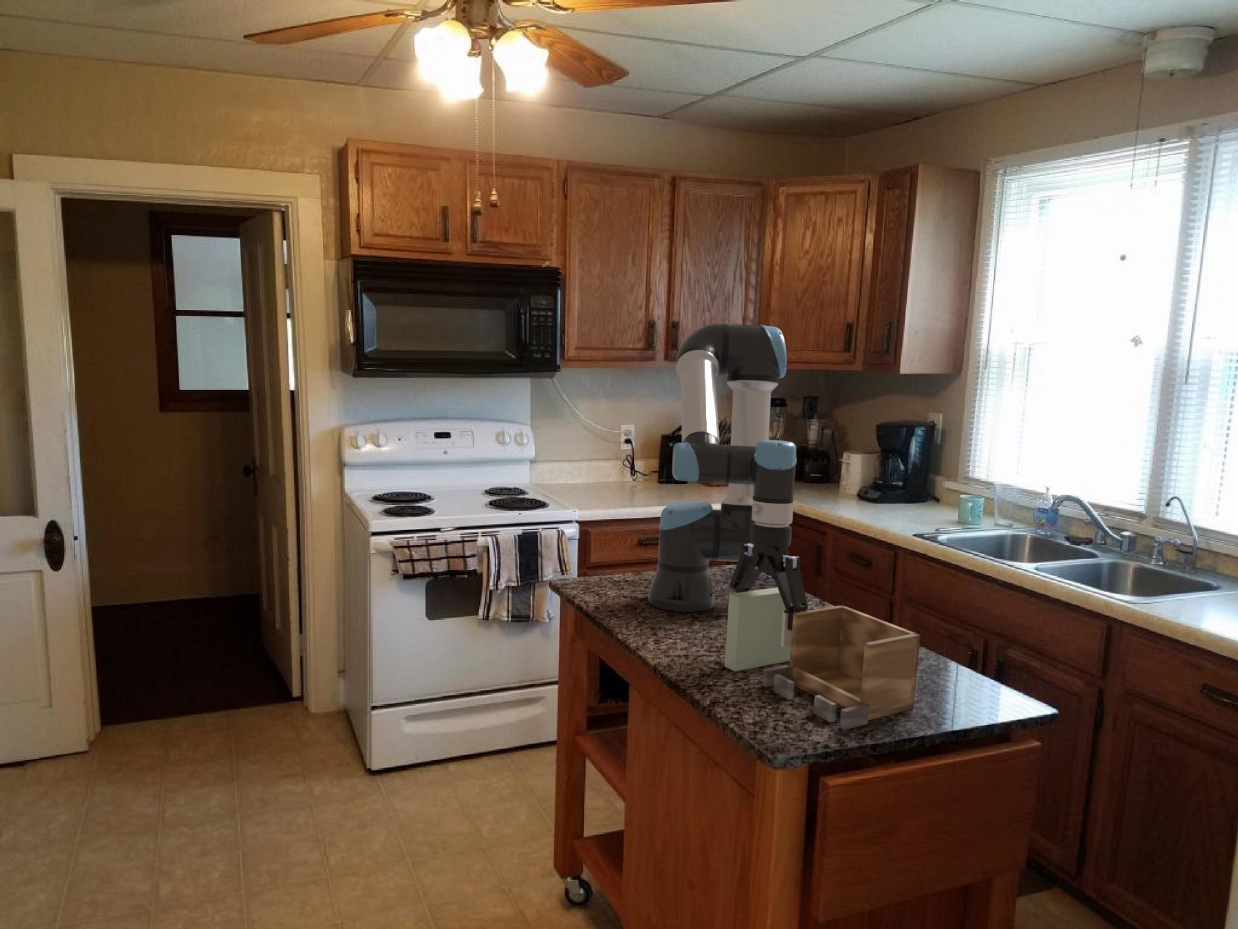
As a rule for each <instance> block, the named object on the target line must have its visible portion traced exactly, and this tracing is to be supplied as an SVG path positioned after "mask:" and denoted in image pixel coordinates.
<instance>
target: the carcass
mask: <svg viewBox="0 0 1238 929" xmlns="http://www.w3.org/2000/svg"><path fill="white" fill-rule="evenodd" d="M920 641H921V634H919V633H916V632H914V631H911V630H908V629H907V628H906V629H905V628H903V627H900V626H898V625H895V624H893V623H890V622H887V621H885V620H882V619H879V618H877V617H874V616H871V615H869V614H867V613H864V612H861V611H859V610H856V609H854V608H850V607H848V606H846V605H842V604H841V605H835V606H829V607H828V606H827V607H823V608H816V609H810V610H809V609H808V610H806V611H800V612H796V613H793V626H792V639H791V652H790V661H789V665H787V664H784V665H779V666H773V667H770V668H769V667H768V668H764V669H763V671H762V672H763V673H762V684H761V685H762V686H763V687H765V688H771V687H773V691H772V692H774V693H775V694H777V695H779V696H781V697H782V698H785V699H786V700H788V701H790V700H793V699H794V694H795V688H797V689H800V690H801V691H804V692H805V693H807V694H810V695H811V696H813V697H814V701H813V714H814V715H815V716H818V717H819V718H822V719H823V720H824V721H827V722H829V723H833V722H836V716H837V709H838V710H840V719H839V729H842V730H845V731H846V730H849V729H853V728H858V727H861V726H864V725H865V726H866V725H868V722H869V721H870V720H874V719H878V718H881V717H886V716H889V715H893V714H898V713H902V712H906V711H910V710H913V709H914V704H915V694H916V685H917V673H918V666H919V665H918V662H919V654H920V653H919V652H920V645H921V644H920V643H921V642H920Z"/></svg>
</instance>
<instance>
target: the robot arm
mask: <svg viewBox="0 0 1238 929" xmlns="http://www.w3.org/2000/svg"><path fill="white" fill-rule="evenodd" d="M675 372H676V375H677V377H678V378H679V379H680V399H681V400H680V403H681V404H680V406H681V442H676V443H674V445H673V449H672V465H671V466H672V470H671V471H672V472H671V473H672V477H673V479H675V480H676V481H681V482H682V481H683V482H690V483H712V484H713V483H714V484H717V483H718V484H728V491H727V496H726V497H724V498H723V499H722V500H721V501H720V502H721V503H720V509H713V505H712V503H710V502H707V501H697V500H696V501H694V500H693V501H684V502H683V501H681V502H677V503H672V504H669V505H667V506H665V507H663V509H662V511H661V514H660V521H659V526H658V530H659V537H658V538H659V540H658V554H657V555H658V556H657V567H656V569H657V570H656V572H655V573H654V574H655V575H654V577H653V579H652V582H651V586H650V588H649V589H648V597H647V598H648V603H649V604H650V605H652V607H655V608H658V609H660V610H665V611H669V612H678V613H680V612H681V613H697V612H704V611H709V610H710V609H712V608H713V607H714V604H715V603H714V602H715V594H714V589H713V586H712V582H711V579H710V575H709V563H710V562H709V561H717V562H718V561H720V562H736V563H737V564H736V566H735V569H734V572H733V574H732V576H731V577H732V578H731V580H730V582H729V586H730V589H733V590H735V593H740V592H748V591H752V590H751V589H752V588H753V586H754V584H756V582H757V580H758V578H759V577H760V576H761V574H762V573H765V574H767V575H769V576H770V578H771V579H772V580H774V583H775V584H776V588H777V587H778V590H779V592H780V595H781V598H782V600H783V603H784V605H785V608H786V610H785V611H783V616H782V633H781V647H789V646H791V639H792V626H793V613H796V612H803V611H808V610H809V606H808V601H807V595H806V592H805V591H806V590H805V587H804V583H803V578H802V575H801V569H800V568H801V566H800V565H801V564H800V562H801V558H800V556H798V555H795V556H794V555H793V556H791V555H788V547H789V546H790V545H791V543H792V529H793V528H792V526H791V525H790V524H792V523H793V516H794V512H793V511H794V493H795V491H794V490H795V478H796V467H797V466H796V465H797V463H798V462H797V460H798V459H797V446H796V444H795V443H794V442H793V441H787V440H780V439H779V440H776V439H775V440H774V439H770V438H769V437H770V434H769V433H770V418H771V400H772V399H771V396H772V391H774V390H775V389H776V388H777V386H779V379H782V378H784V377H785V376H786V373H787V348H786V341H785V337H784V334H783V332H782V330H781V329H780V328H778V327H776V326H769V325H763V324H736V323H735V324H734V323H733V324H731V323H718V322H717V323H716V322H714V323H709V324H706V325H704V326H701V327H699V328H698V329H696V330H695V331H693V332H692V333H690V335H689V336H687V337H686V339H685V340H684V341H683V343H682V344H681V346H680V347H679V349H678V352H677V354H676V359H675ZM717 376H726V384H727V385H728V387H729V388H730V389H731V390H732V408H731V409H732V412H731V430H730V434H731V435H730V444H720V442H721V441H720V431H719V430H720V429H719V428H720V427H719V415H718V414H719V413H718V401H717V400H718V398H717V396H718V395H717V385H716V383H717V382H716V377H717ZM791 603H792V605H793V606H791ZM799 604H800V605H799Z"/></svg>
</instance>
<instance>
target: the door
mask: <svg viewBox="0 0 1238 929" xmlns="http://www.w3.org/2000/svg"><path fill="white" fill-rule="evenodd" d="M800 604H801V603H800ZM800 604H799V605H800ZM791 606H793V605H792V603H791ZM727 610H728V611H727V623H726V624H727V625H726V637H725V638H726V639H725V652H724V653H725V656H724V667H725V668H727V669H729V670H731V671H733V672H739V671H740V672H741V671H746V670H749V669H755V668H761V667H764V666H770V665H775V664H779V663H780V664H781V663H785V662H790V652H791V646H789V647H781V633H782V616H783V611H785V610H786V608H785V605H784V603H783V600H782V598H781V595H780V592H779V590H778V587H777V586H776V587H772V588H764V589H755V590H751V591H748V592H740V593H736V592H735V593H729V594H728V608H727Z"/></svg>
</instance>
